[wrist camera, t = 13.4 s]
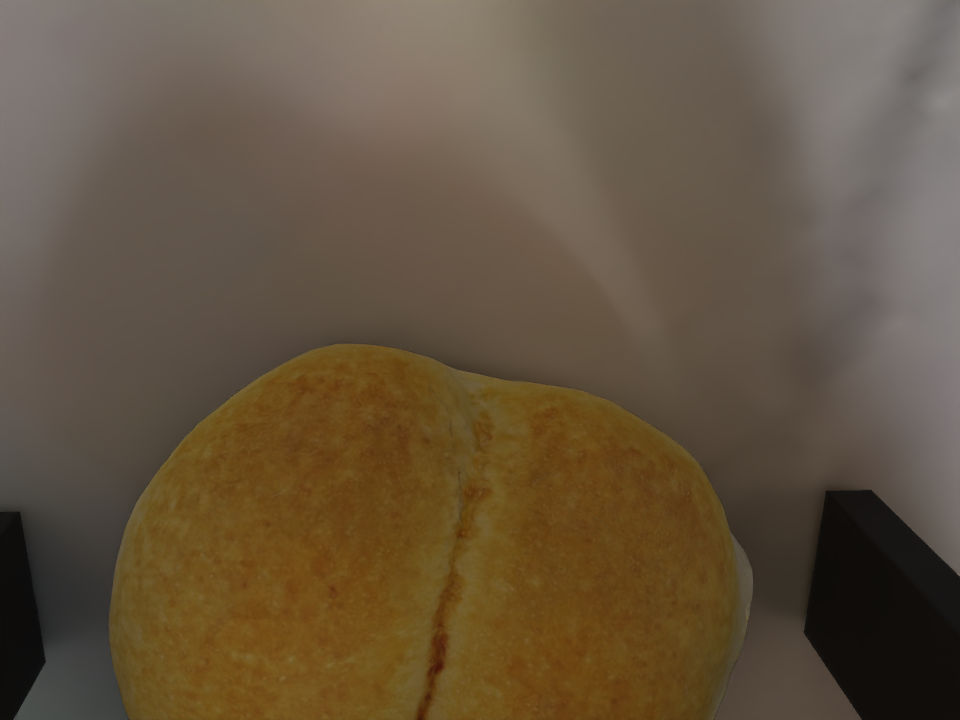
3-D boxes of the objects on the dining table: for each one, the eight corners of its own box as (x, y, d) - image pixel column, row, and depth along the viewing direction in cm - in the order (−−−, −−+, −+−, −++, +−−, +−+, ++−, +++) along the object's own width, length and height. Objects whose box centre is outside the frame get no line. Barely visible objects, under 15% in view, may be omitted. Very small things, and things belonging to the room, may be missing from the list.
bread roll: (177, 281, 13) (87, 379, 9) (759, 407, 14) (885, 537, 11) (106, 744, 16) (11, 970, 12) (608, 814, 17) (667, 1036, 13)
